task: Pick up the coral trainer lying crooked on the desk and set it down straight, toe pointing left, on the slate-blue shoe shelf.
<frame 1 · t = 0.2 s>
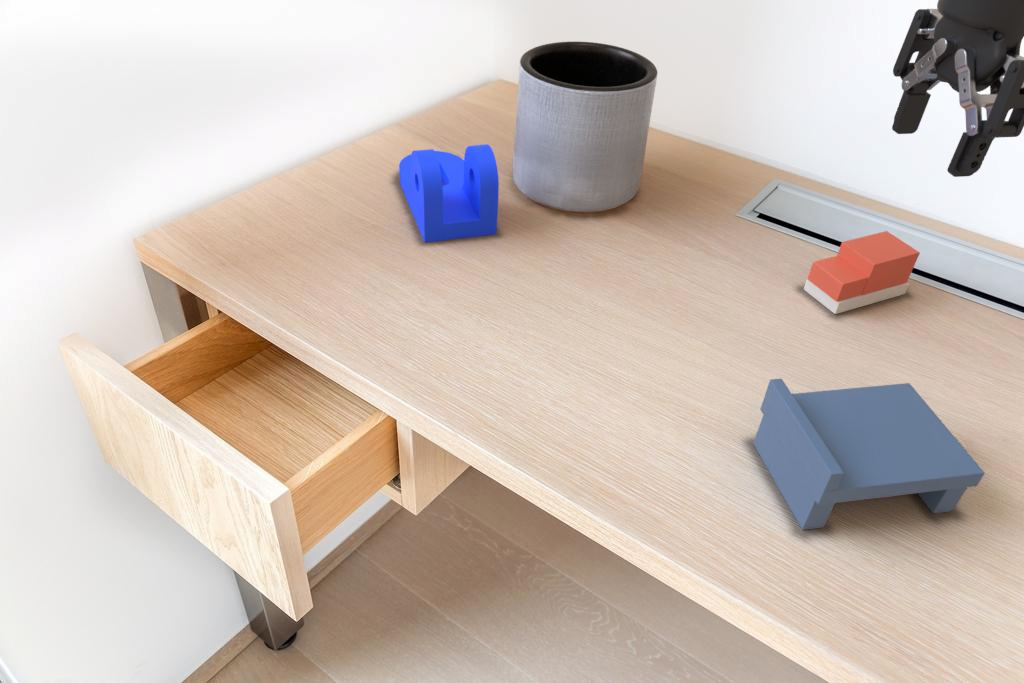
hand: (929, 152, 71), 18 cm above the table, tool pointing down, fingers open, 8 cm apart
planter: (574, 187, 100), on the table
shoe shelf: (849, 476, 64), on the table
bracket: (442, 201, 96), on the table
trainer: (854, 291, 85), on the table
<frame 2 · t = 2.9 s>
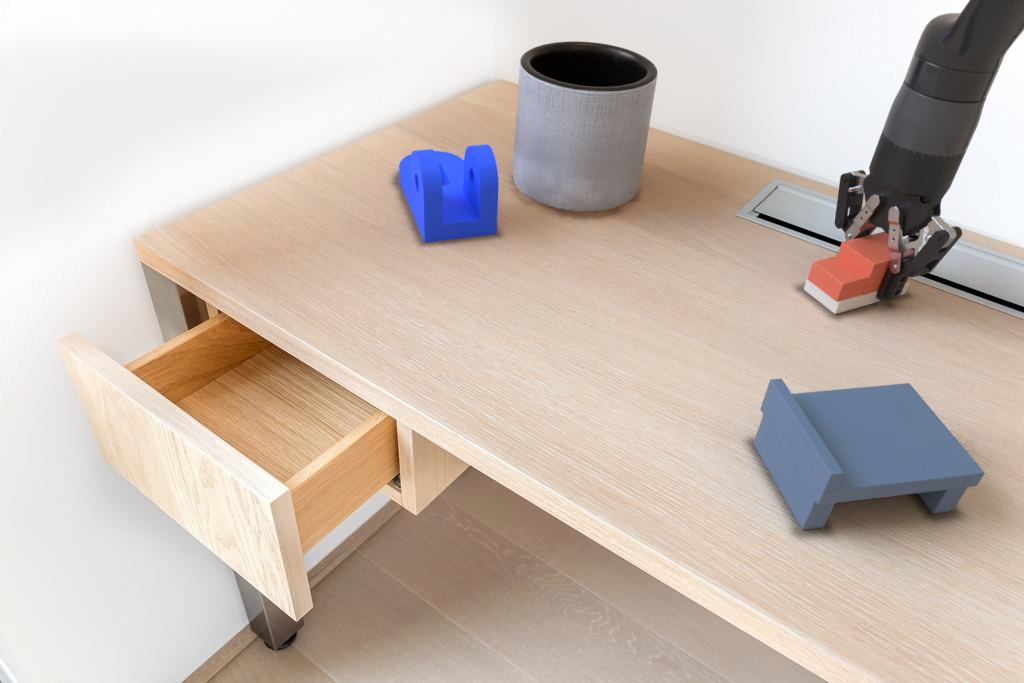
hand: (865, 283, 85), 1 cm above the table, tool pointing down, fingers closed on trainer, 4 cm apart
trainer: (854, 291, 85), on the table, touching gripper
everything else where it was.
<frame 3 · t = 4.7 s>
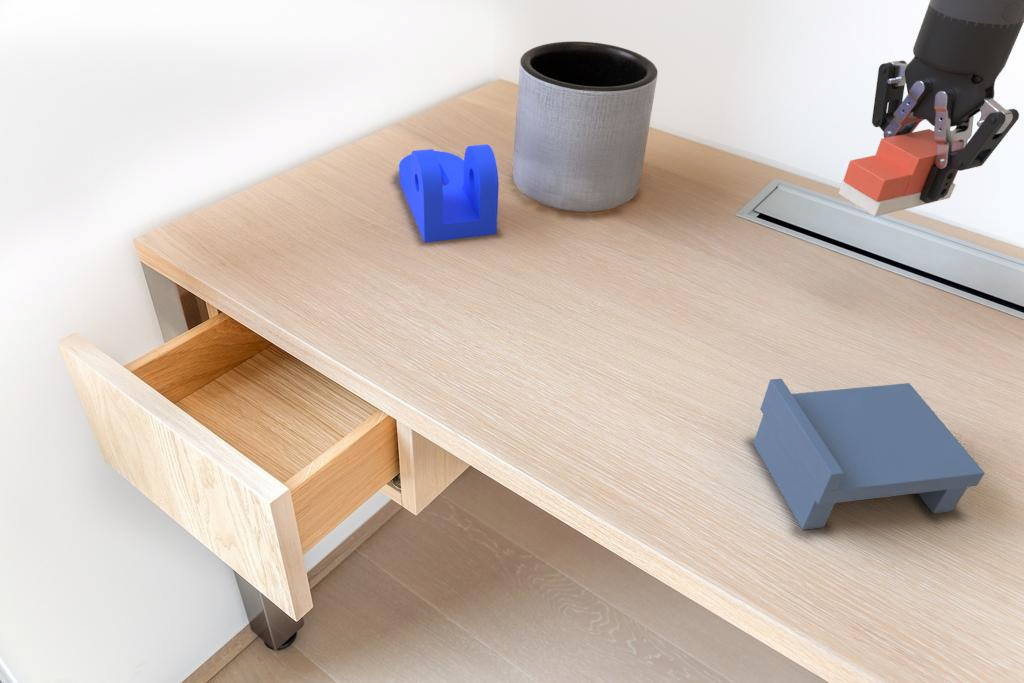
hand: (907, 186, 78), 12 cm above the table, tool pointing down, fingers closed on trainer, 4 cm apart
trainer: (894, 196, 78), point 12 cm above the table, touching gripper
everything else where it was.
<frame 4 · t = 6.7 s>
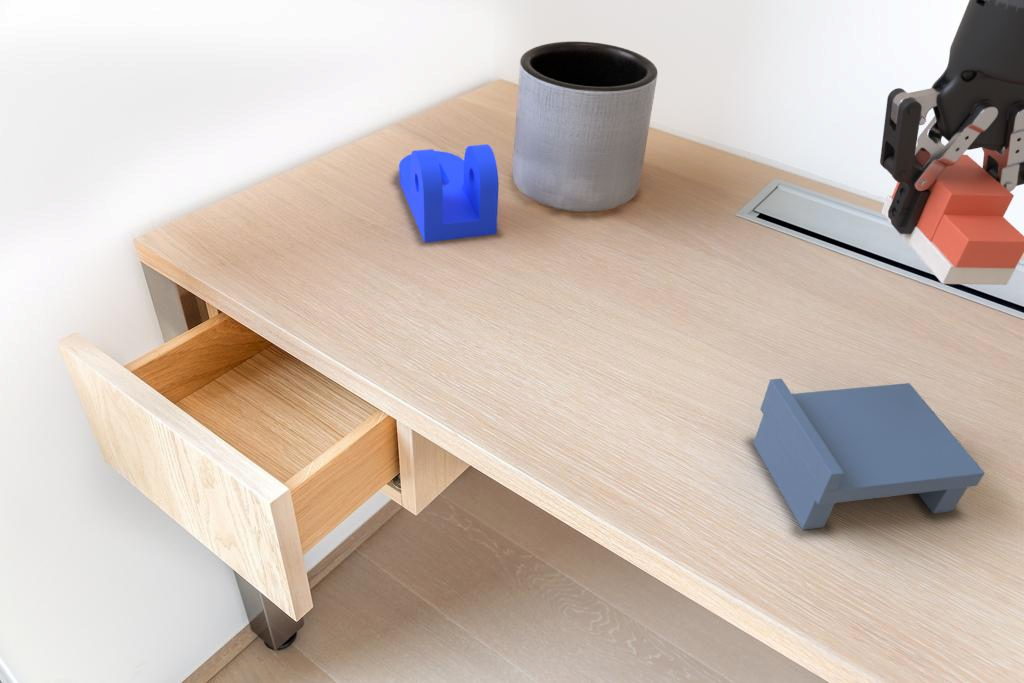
hand: (934, 228, 60), 18 cm above the table, tool pointing down, fingers closed on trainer, 4 cm apart
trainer: (939, 246, 59), point 17 cm above the table, touching gripper
everything else where it was.
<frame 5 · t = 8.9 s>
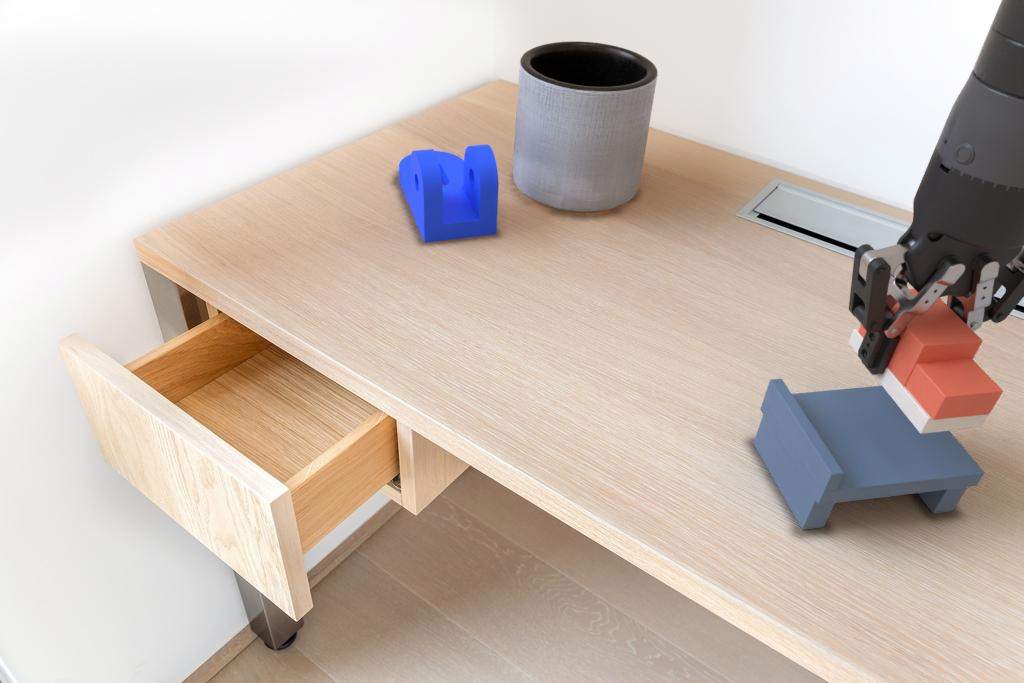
hand: (903, 363, 60), 10 cm above the table, tool pointing down, fingers closed on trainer, 4 cm apart
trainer: (910, 383, 59), point 9 cm above the table, touching gripper
everything else where it was.
when the fingers open (6 cm above the table, at t = 10.5 s): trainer stays where it is, resting on shoe shelf.
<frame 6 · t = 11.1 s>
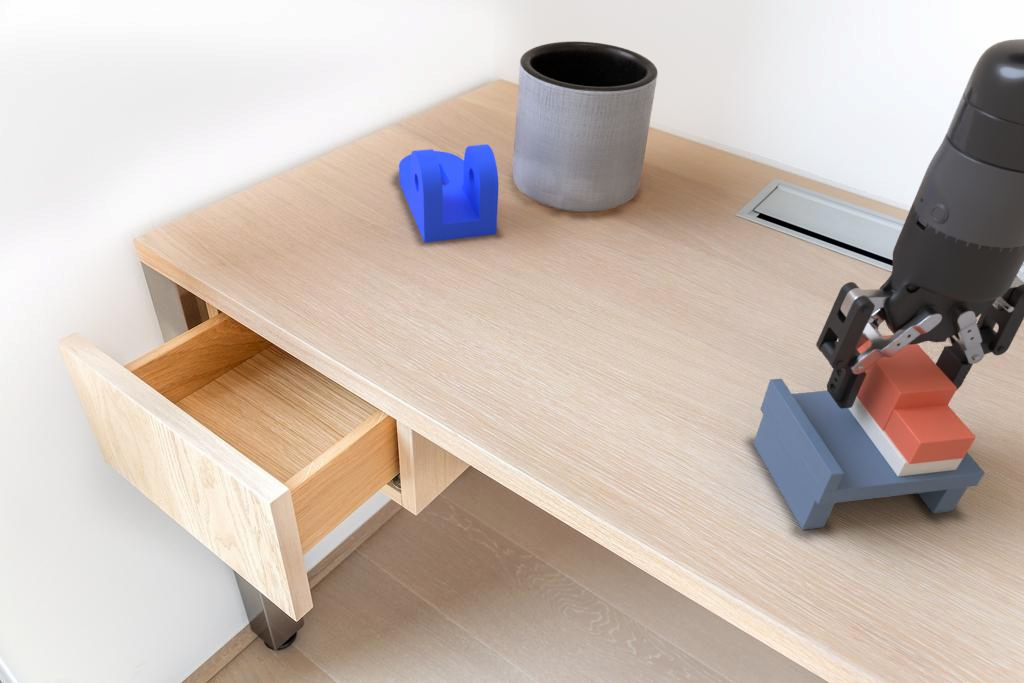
hand: (889, 396, 62), 7 cm above the table, tool pointing down, fingers open, 8 cm apart
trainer: (890, 425, 62), point 5 cm above the table, touching shoe shelf
everything else where it was.
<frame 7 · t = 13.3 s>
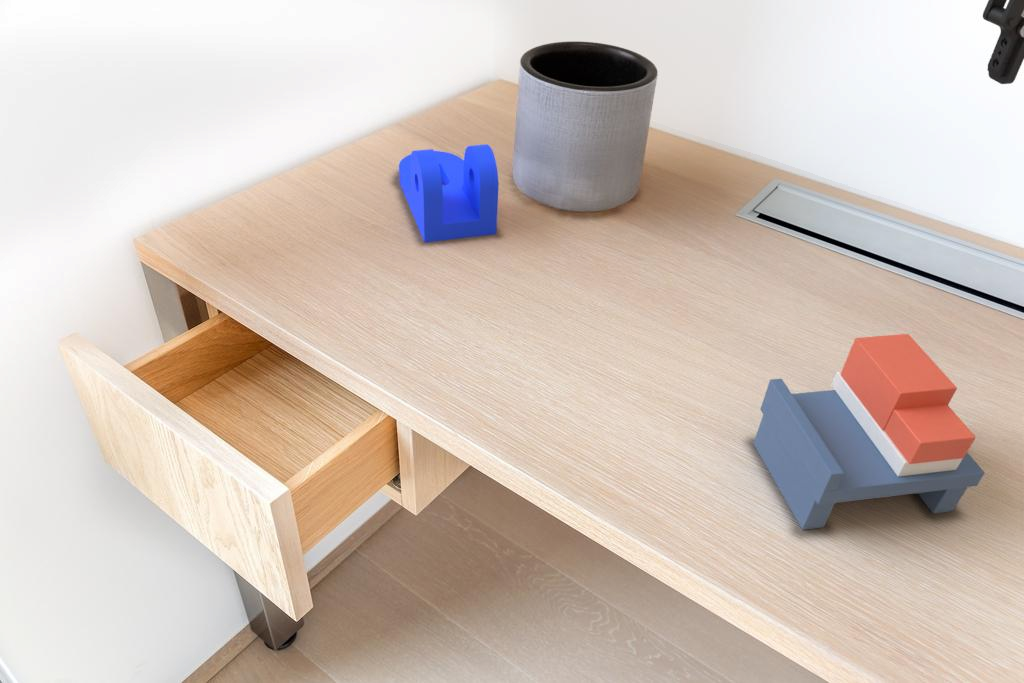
nothing on the table moved.
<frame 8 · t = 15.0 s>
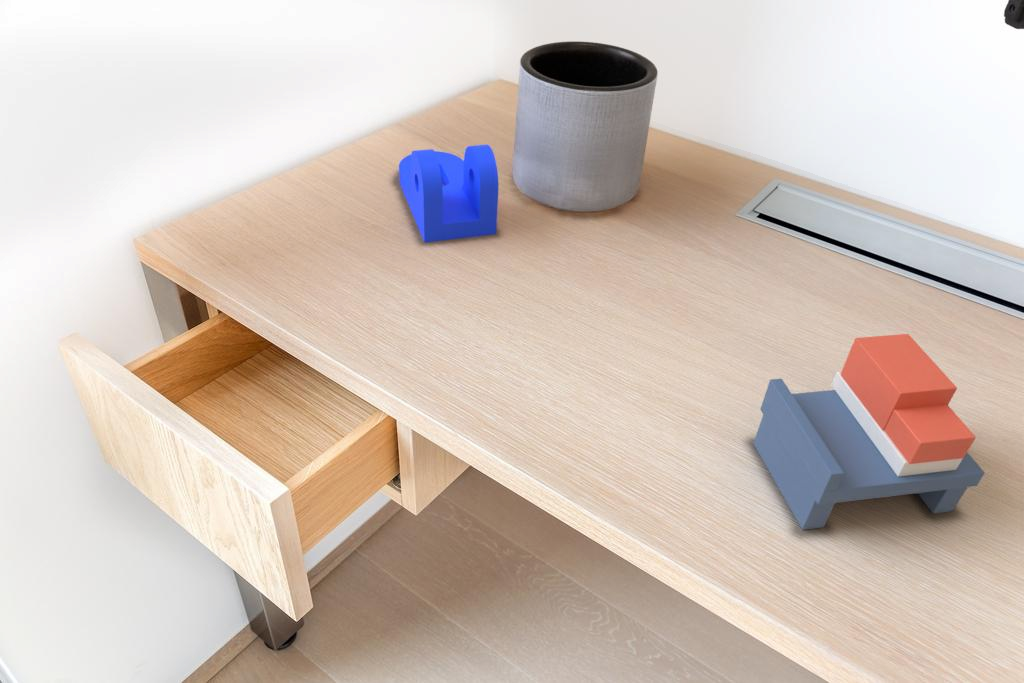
nothing on the table moved.
at the end: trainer inside the target area on the shoe shelf (0.7 cm from its centre), point 5.0 cm above the shoe shelf's base; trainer tilted 0°; the gripper is holding nothing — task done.
